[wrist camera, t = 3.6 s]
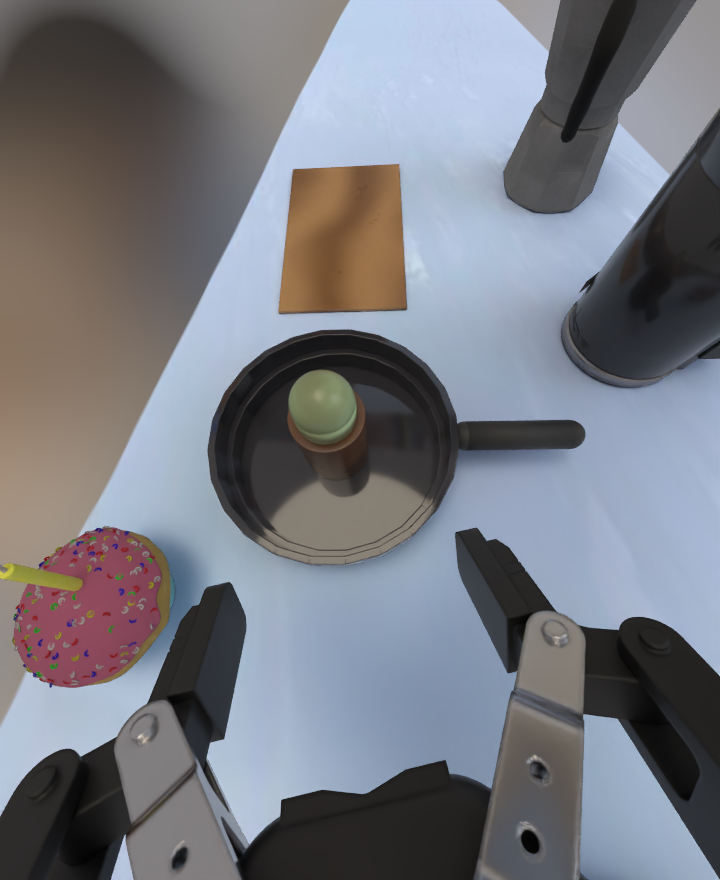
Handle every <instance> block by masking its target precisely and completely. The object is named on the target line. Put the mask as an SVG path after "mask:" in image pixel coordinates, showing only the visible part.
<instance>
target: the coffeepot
mask: <svg viewBox="0 0 720 880" xmlns="http://www.w3.org/2000/svg"><path fill="white" fill-rule="evenodd" d="M695 2H696V0H561V1H560V5H559V10H558V15H557V19H556V24H555V28H554V33H553V38H552V42H551V47H550V51H549V56H548V61H547V65H546V70H545V78H546V83H547V85H546V88H545V91H544V93H543V96H542V99H541V100H540V101H539V102H538V104H537V105H536V106H535V107H534V109H533V112H532V114H531V116H530V118H529V120H528V122H527V124H526V126H525V128H524V130H523V132H522V134H521V136H520V139H519V141H518V143H517V145H516V147H515V149H514V151H513V153H512V155H511V157H510V159H509V161H508V163H507V165H506V168H505V170H504V186H505V189H506V192H507V195H508V196H509V197H510V198H511V199H512V200H513V201H514V202H516V203H517V204H519V205H520V206H522V207H524V208H526V209H529V210H532V211H535V212H541V213H560V212H564V211H569V210H572V209H573V208H575V207H576V206H578V205H579V204H580V203H581V202H582V201H583V200H584V199H585V198H586V197H587V196H588V195H589V194H591V193H592V191H593V188H594V185H595V183H596V180H597V177H598V175H599V172H600V169H601V167H602V164H603V161H604V159H605V156H606V153H607V151H608V148H609V145H610V142H611V140H612V137H613V134H614V132H615V129H616V126H617V124H618V113H619V111H620V109H621V107H622V105H623V103H624V101H625V99H626V98H628V97H629V96H630V95H631V94H633V92H634V91H636V89H638V87H639V86H640V84H641V83H642V81H643V79H644V78H645V77H646V75H647V74H648V72H649V71H650V69H651V68H652V66H653V65H654V63H655V62H656V60H657V58H658V57H659V56H660V54H661V53H662V51H663V50H664V48H665V47H666V45H667V44H668V42H669V40H670V39H671V38H672V36H673V35H674V33H675V32H676V30H677V29H678V27H679V26H680V24H681V23H682V21H683V20H684V18H685V17H686V15H687V14H688V12H689V11H690V9H691V8H692V6H693V5H694V3H695Z"/></svg>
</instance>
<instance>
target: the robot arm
mask: <svg viewBox="0 0 720 880" xmlns="http://www.w3.org/2000/svg"><path fill="white" fill-rule="evenodd" d="M589 285H590V286H589ZM588 286H589V287H588ZM586 287H588V288H587V290H586V291H585V292H584V294H583V295H582V296H581V298H580V299H579V300H578V301H577V302H576V303H575V304H574V305H573V307H572V308H571V309H570V311H569V312H568V314H567V315H566V317H565V319H564V322H563V325H562V339H563V343H564V346H565V348H566V350H567V352H568V354H569V355H570V357H571V358H572V360H573V361H574V362H575V363H576V364H577V365H578V366H579V367H580V368H581V369H582V370H584V371H585V372H586V373H588V374H589V375H591V376H592V377H594V378H596V379H598V380H601V381H603V382H606V383H608V384H612V385H616V386H621V387H642V386H647V385H651V384H653V383H656V382H658V381H660V380H661V379H663V378H664V377H666V376H667V375H669V374H670V373H672V372H673V371H674V370H677V369H684V368H685V367H687V366H688V365H690V364H691V363H693V362H694V361H696V360H697V359H720V108H719V109H718V111H717V112H716V113H715V115H714V116H713V118H712V119H711V120H710V122H709V123H708V124H707V126H706V127H705V129H704V130H703V132H702V133H701V134H700V136H699V137H698V138H697V140H696V141H695V143H694V144H693V145H692V146H691V148H690V149H689V151H688V152H687V153H686V155H685V156H684V157H683V159H682V160H681V162H680V163H679V164H678V166H677V167H676V169H675V170H674V171H673V172H672V174H671V175H670V176H669V178H668V179H667V181H666V182H665V183H664V185H663V186H662V187H661V189H660V190H659V191H658V193H657V194H656V196H655V197H654V198H653V200H652V201H651V202H650V204H649V205H648V207H647V208H646V209H645V211H644V212H643V213H642V215H641V216H640V217H639V219H638V220H637V222H636V223H635V224H634V226H633V227H632V228H631V230H630V231H629V232H628V234H627V235H626V237H625V238H624V239H623V241H622V242H621V243H620V245H619V246H618V247H617V249H616V250H615V252H614V253H613V254H612V256H611V257H610V258H609V260H608V261H607V262H606V264H605V265H604V267H603V268H602V269H601V271H600V272H598V273H597V274H596V275H595V276H593V277H592V278H591V279H589V280H588V281H587V282H586V283H585V285H584V286H583V288H582V289H581V291H582V290H584V289H585V288H586ZM581 291H580V292H581ZM580 292H579V293H580ZM455 539H456V550H457V562H458V569H459V573H460V576H461V579H462V581H463V584H464V586H465V588H466V590H467V592H468V594H469V596H470V598H471V600H472V602H473V604H474V606H475V608H476V610H477V612H478V614H479V616H480V618H481V620H482V622H483V624H484V626H485V628H486V630H487V632H488V634H489V636H490V638H491V640H492V642H493V644H494V646H495V648H496V650H497V652H498V654H499V656H500V658H501V660H502V662H503V665H504V667H505V669H506V671H507V673H512V672H516V671H517V676H516V681H515V686H514V690H513V691H512V692H511V694H510V698H509V702H508V707H507V713H506V718H505V723H504V728H503V733H502V738H501V743H500V749H499V754H498V759H497V764H496V769H495V774H494V779H493V785H492V789H490V788H488V787H487V786H485V785H483V784H482V783H480V782H478V781H476V780H473V779H471V778H468V777H465V776H461V775H456V774H449V771H448V767H447V763H446V760H443V761H439V762H435V763H431V764H427V765H423V766H418V767H414V768H410V769H406V770H404V771H403V772H401V773H399V774H398V775H396V776H395V777H393V778H391V779H390V780H388V781H387V782H385V783H383V784H382V785H380V786H379V787H377V788H375V789H374V790H372V791H371V792H369V793H366V794H355V793H346V792H337V791H328V790H320V791H316V792H311V793H307V794H303V795H299V796H295V797H291V798H287V799H283V800H281V814H280V817H279V818H277V819H275V820H274V821H273V822H272V823H270V824H269V825H268V826H267V827H266V828H265V829H264V830H263V831H262V832H261V833H260V834H259V835H258V836H257V837H256V838H255V839H254V840H253V841H252V843H251V844H250V845H249V843H248V841H247V839H246V837H245V836H244V834H243V832H242V830H241V829H240V827H239V825H238V823H237V821H236V819H235V817H234V815H233V813H232V811H231V808H230V806H229V804H228V802H227V800H226V798H225V795H224V793H223V791H222V789H221V787H220V785H219V782H218V780H217V778H216V776H215V774H214V772H213V769H212V767H211V765H210V763H209V761H208V759H207V758H206V757H207V753H208V749H209V744H210V742H214V741H218V740H223V739H224V738H225V733H226V728H227V723H228V718H229V713H230V708H231V703H232V698H233V693H234V688H235V683H236V678H237V673H238V668H239V663H240V659H241V654H242V649H243V644H244V639H245V634H246V616H245V613H244V610H243V608H242V606H241V603H240V601H239V599H238V597H237V595H236V592H235V590H234V588H233V586H232V584H231V583H230V582H227V583H223V584H218V585H214V586H209V587H207V588H206V589H205V590H204V593H203V596H202V598H201V601H200V604H199V605H197V606H192V607H191V609H190V610H189V611H188V612H187V614H186V615H185V616H184V618H183V619H182V620H181V622H180V624H179V627H178V629H177V632H176V634H175V639H173V642H172V644H171V646H170V652H168V654H167V656H166V659H165V661H164V664H163V666H162V669H161V671H160V674H159V676H158V679H157V681H156V684H155V686H154V689H153V691H152V694H151V696H150V699H149V701H148V703H147V704H146V705H144V706H143V707H141V708H140V709H138V710H137V711H136V712H135V713H134V714H133V715H132V716H131V717H130V718H129V719H128V720H127V721H126V723H125V724H124V725H123V727H122V728H121V730H120V732H119V734H118V736H117V737H116V738H114V739H112V740H111V741H109V742H107V743H105V744H103V745H101V746H100V747H98V748H96V749H94V750H92V751H91V752H89V753H87V754H85V755H83V756H82V757H80V756H79V754H78V753H77V752H76V751H74V750H72V749H63V750H59V751H57V752H55V753H53V754H51V755H49V756H48V757H46V758H45V759H43V760H42V761H41V762H39V763H38V764H37V765H36V766H35V767H34V768H33V769H32V770H31V771H30V772H29V773H28V774H27V775H26V776H25V777H24V779H23V780H22V781H21V782H20V784H19V785H18V786H17V788H16V790H15V791H14V793H13V795H12V796H11V798H10V800H9V802H8V804H7V806H6V807H5V809H4V811H3V813H2V815H1V816H0V880H111V877H112V873H113V870H114V867H115V864H116V860H117V857H118V854H119V851H120V847H121V844H122V841H123V838H124V835H126V846H127V851H128V855H129V860H130V865H131V869H132V874H133V878H134V880H587V879H586V878H585V877H584V876H583V875H582V874H581V873H580V844H581V813H582V783H583V752H584V720H583V714H588V715H595V716H603V717H610V718H617V719H618V720H619V721H620V723H621V725H622V726H623V728H624V729H625V731H626V732H627V734H628V736H629V737H630V739H631V740H632V742H633V743H634V745H635V747H636V748H637V750H638V751H639V753H640V754H641V756H642V758H643V759H644V761H645V762H646V764H647V765H648V767H649V769H650V770H651V772H652V773H653V775H654V776H655V778H656V780H657V781H658V783H659V784H660V786H661V788H662V789H663V791H664V792H665V794H666V795H667V797H668V799H669V800H670V802H671V803H672V805H673V806H674V808H675V810H676V811H677V813H678V814H679V816H680V817H681V819H682V821H683V822H684V824H685V825H686V827H687V828H688V830H689V832H690V833H691V835H692V836H693V838H694V839H695V841H696V843H697V844H698V846H699V847H700V849H701V850H702V852H703V854H704V855H705V857H706V858H707V860H708V861H709V863H710V865H711V866H712V868H713V869H714V871H715V872H716V874H717V876H718V877H719V879H720V676H719V675H718V674H717V673H716V672H715V671H714V670H713V669H712V668H711V667H710V665H709V664H708V663H707V662H706V661H705V660H704V659H703V658H702V657H701V656H700V655H699V654H698V653H697V652H696V651H695V650H694V649H693V648H692V647H691V646H690V645H689V644H688V643H687V642H686V641H685V640H684V638H683V637H682V636H681V635H679V634H678V633H677V632H676V631H675V630H673V629H672V628H670V627H669V626H667V625H665V624H663V623H661V622H659V621H656V620H653V619H650V618H645V617H632V618H628V619H626V620H625V621H623V622H622V624H621V625H620V628H619V630H610V629H597V628H588V627H583V626H580V625H577V624H576V623H575V622H574V621H573V620H572V619H570V618H569V617H567V616H565V615H563V614H561V613H558V612H557V611H556V610H555V609H554V608H553V607H552V605H551V604H550V603H549V601H548V600H547V599H546V597H545V596H544V594H543V593H542V592H541V590H540V589H539V588H538V586H537V585H536V584H535V582H534V581H533V580H532V578H531V577H530V575H529V574H528V573H527V572H526V571H525V569H524V567H523V566H522V565H521V563H520V562H518V559H517V558H516V556H515V555H514V554H513V552H512V551H511V550H510V548H509V547H507V546H506V545H504V544H503V543H501V542H500V541H498V540H497V539H494V540H489V541H486V540H485V538H484V537H483V535H482V534H481V532H480V531H479V529H478V528H472V529H468V530H463V531H459V532H456V533H455Z"/></svg>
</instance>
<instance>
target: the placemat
mask: <svg viewBox="0 0 720 880" xmlns="http://www.w3.org/2000/svg"><path fill="white" fill-rule="evenodd" d="M406 309H407V303H406V284H405V266H404V247H403V228H402V209H401V190H400V172H399V164H393V165H372V166H352V167H331V168H311V169H293V176H292V186H291V195H290V205H289V214H288V224H287V234H286V243H285V253H284V263H283V272H282V282H281V291H280V301H279V311H278V312H279V314H282V313H315V312H349V311H382V310H406Z"/></svg>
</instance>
